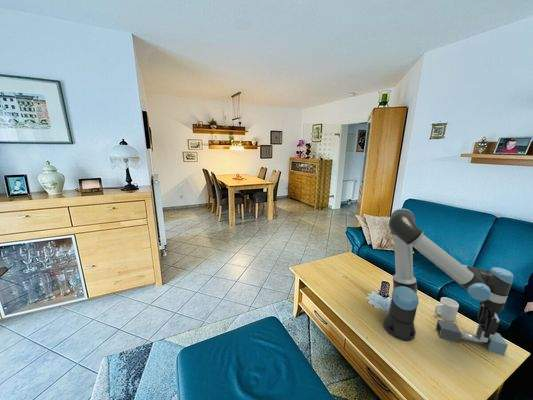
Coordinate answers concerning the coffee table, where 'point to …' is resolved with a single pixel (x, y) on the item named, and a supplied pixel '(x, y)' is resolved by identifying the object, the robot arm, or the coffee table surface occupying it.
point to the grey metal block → (448, 331)
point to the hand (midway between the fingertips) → (481, 338)
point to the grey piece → (474, 337)
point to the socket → (497, 344)
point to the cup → (447, 309)
